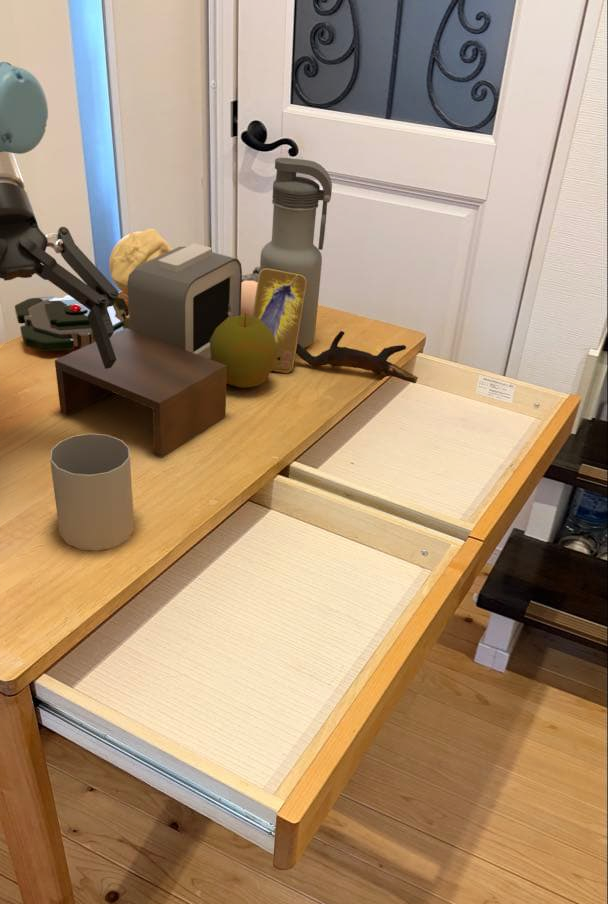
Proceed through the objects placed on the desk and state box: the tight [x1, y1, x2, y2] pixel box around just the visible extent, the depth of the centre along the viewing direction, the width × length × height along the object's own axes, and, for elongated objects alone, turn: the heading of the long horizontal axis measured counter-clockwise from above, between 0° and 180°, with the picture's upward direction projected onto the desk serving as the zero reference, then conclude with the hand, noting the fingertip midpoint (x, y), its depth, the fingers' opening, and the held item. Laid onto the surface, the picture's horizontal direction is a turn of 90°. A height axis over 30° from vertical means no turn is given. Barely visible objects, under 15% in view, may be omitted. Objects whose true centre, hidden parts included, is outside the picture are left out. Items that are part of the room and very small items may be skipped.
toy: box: [295, 330, 419, 384], centre depth 129 cm, size 23×7×5 cm
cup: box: [49, 432, 135, 552], centre depth 91 cm, size 8×8×10 cm
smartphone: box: [253, 268, 306, 374], centre depth 127 cm, size 8×15×1 cm
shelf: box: [54, 328, 227, 458], centre depth 112 cm, size 14×18×8 cm
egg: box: [240, 281, 258, 317], centre depth 141 cm, size 7×7×8 cm
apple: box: [210, 314, 278, 389], centre depth 121 cm, size 10×10×11 cm
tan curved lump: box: [108, 228, 173, 297], centre depth 143 cm, size 11×12×11 cm
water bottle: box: [259, 157, 333, 349], centre depth 129 cm, size 10×10×28 cm
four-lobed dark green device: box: [14, 295, 130, 352], centre depth 133 cm, size 18×18×5 cm
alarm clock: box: [127, 242, 243, 359], centre depth 127 cm, size 16×11×16 cm
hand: (53, 375), depth 92 cm, fingers open, 13 cm apart
